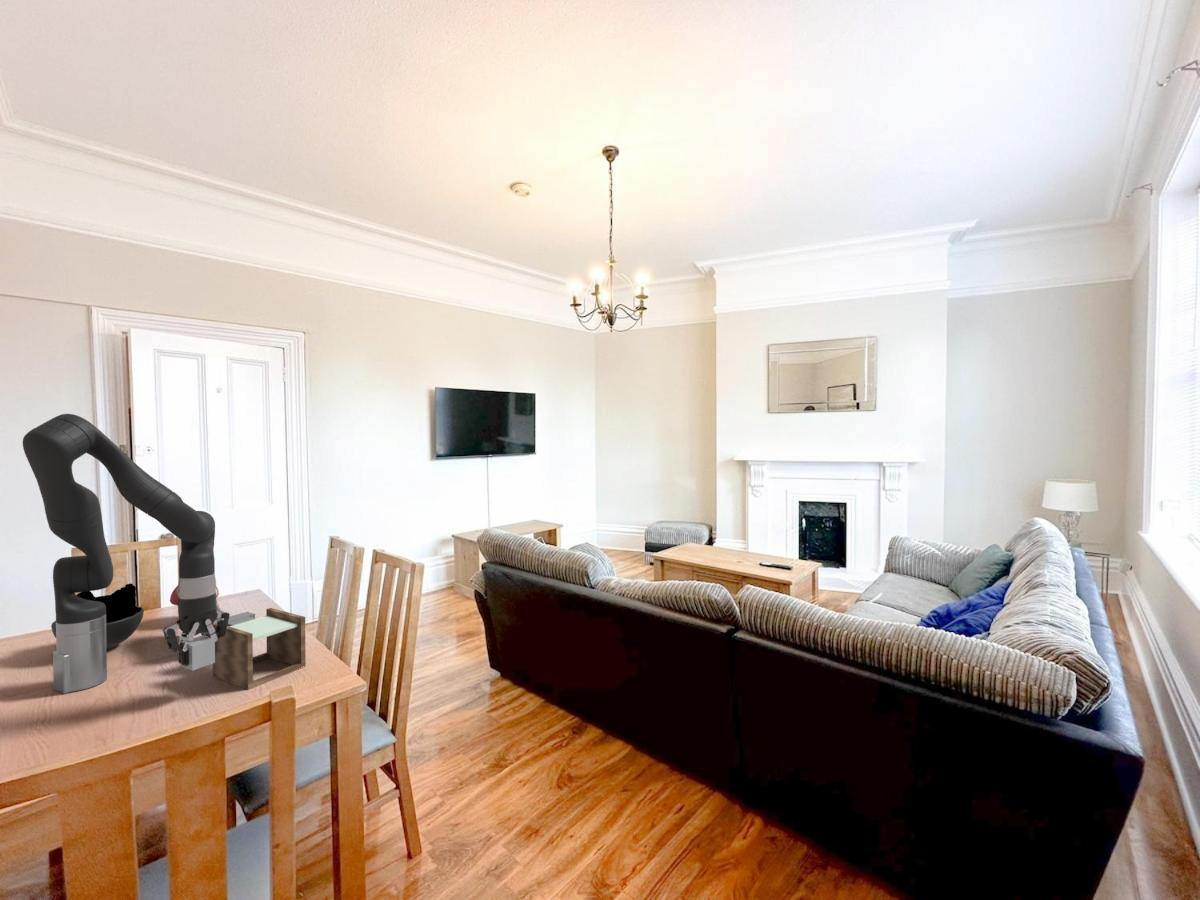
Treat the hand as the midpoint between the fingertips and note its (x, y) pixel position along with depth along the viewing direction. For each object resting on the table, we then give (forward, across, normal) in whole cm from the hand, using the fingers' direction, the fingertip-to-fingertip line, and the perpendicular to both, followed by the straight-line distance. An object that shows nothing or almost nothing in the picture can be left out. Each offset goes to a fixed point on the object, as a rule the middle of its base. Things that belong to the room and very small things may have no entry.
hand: (198, 660), depth 131 cm
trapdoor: (+1, +15, +4) cm, 16 cm away
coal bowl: (+10, +2, +56) cm, 57 cm away
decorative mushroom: (+10, +28, +58) cm, 65 cm away
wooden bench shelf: (+9, +15, 0) cm, 18 cm away
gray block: (+1, 0, 0) cm, 1 cm away
